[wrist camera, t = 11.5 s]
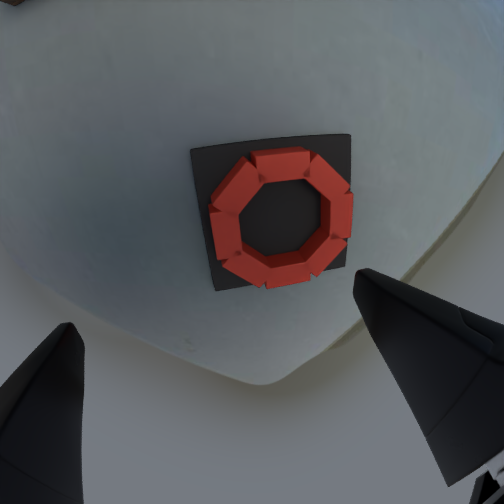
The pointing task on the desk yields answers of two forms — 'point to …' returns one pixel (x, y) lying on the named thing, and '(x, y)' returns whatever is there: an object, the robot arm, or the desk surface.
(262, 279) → the red ring
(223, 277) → the mat
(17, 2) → the crate
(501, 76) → the desk surface
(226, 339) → the desk surface
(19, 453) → the robot arm
